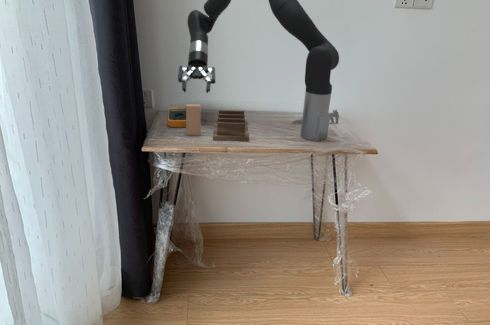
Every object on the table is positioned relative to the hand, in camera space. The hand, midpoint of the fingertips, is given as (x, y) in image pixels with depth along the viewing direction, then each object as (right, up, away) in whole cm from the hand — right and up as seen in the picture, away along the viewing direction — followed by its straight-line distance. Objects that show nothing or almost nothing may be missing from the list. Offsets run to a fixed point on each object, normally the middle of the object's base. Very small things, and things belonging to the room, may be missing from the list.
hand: (196, 91), depth 137 cm
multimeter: (-8, -10, +11) cm, 17 cm away
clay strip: (0, -16, -3) cm, 17 cm away
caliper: (+48, -11, +16) cm, 52 cm away
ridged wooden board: (+13, -15, +1) cm, 20 cm away
